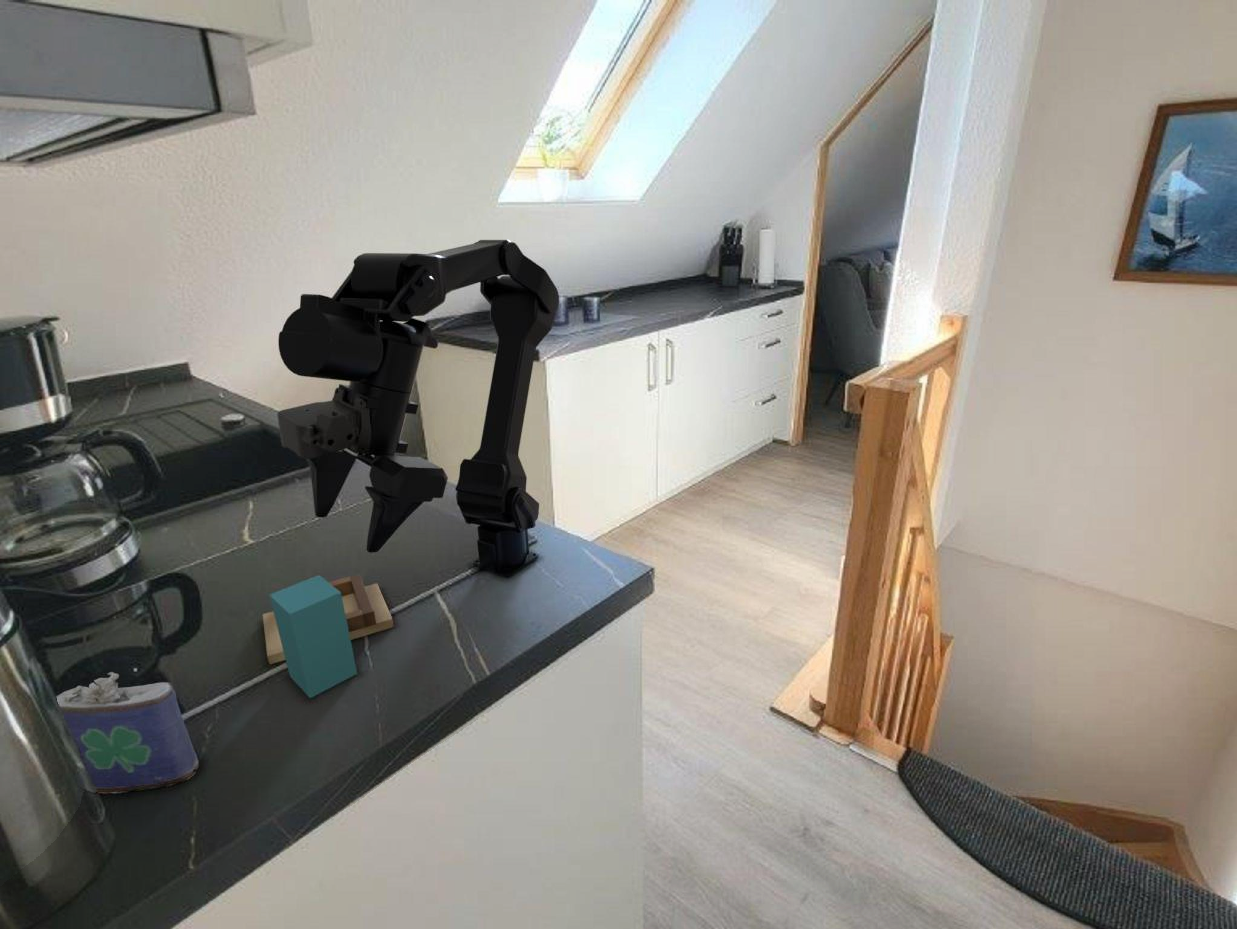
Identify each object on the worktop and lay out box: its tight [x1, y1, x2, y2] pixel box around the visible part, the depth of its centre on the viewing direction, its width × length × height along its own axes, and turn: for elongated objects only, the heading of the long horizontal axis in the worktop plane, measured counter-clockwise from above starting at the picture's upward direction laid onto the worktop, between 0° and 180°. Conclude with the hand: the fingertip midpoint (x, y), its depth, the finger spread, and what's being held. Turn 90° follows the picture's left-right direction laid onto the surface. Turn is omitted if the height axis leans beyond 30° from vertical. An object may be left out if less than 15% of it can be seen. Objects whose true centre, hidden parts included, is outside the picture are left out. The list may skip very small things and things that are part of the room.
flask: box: [55, 671, 200, 794], centre depth 54 cm, size 9×3×11 cm, turn 95°
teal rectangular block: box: [269, 574, 358, 699], centre depth 66 cm, size 5×5×10 cm
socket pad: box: [262, 573, 395, 665], centre depth 76 cm, size 13×9×3 cm
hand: (345, 533), depth 66 cm, fingers open, 9 cm apart
